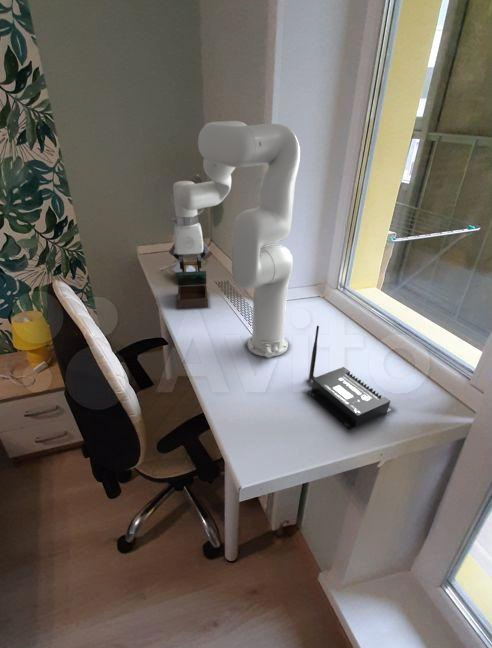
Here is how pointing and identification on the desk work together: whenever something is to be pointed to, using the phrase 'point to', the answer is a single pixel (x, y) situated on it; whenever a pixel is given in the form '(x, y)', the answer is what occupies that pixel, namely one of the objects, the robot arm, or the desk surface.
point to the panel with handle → (191, 276)
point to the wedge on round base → (177, 269)
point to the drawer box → (192, 297)
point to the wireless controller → (345, 395)
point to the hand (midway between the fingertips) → (191, 269)
